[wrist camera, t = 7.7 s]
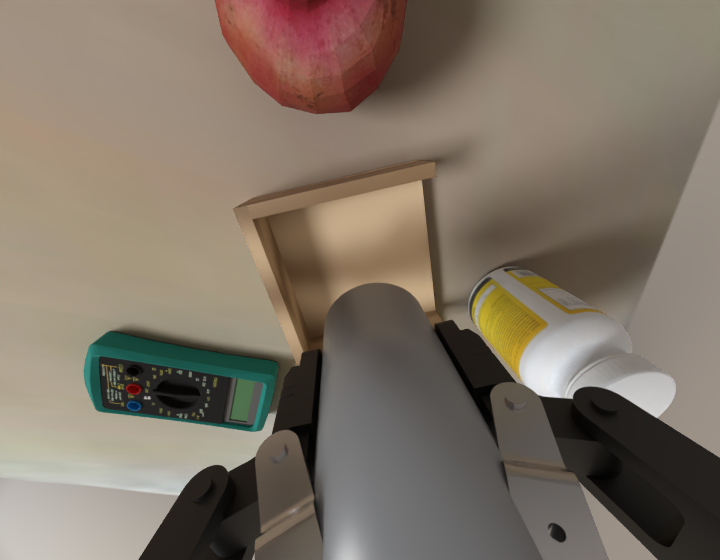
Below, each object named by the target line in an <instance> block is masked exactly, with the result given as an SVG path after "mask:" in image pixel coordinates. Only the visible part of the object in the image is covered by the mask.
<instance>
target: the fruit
mask: <svg viewBox="0 0 720 560" xmlns="http://www.w3.org/2000/svg"><path fill="white" fill-rule="evenodd" d="M215 3H216V8H217V12H218V17H219V21H220V26H221V30H222V35H223V36H224V38H225V40H226V42H227V43H228V45H229V47H230V48H231V49H232V51H233V52H234V54H235V55H236V57H237V58H238V60H239V61H240V63H241V64H242V66H243V67H244V68H245V70H246V71H247V73H248V74H249V76H250V77H251V79H252V80H253V82H254V83H255V84H257V85H258V86H259V87H260V88H261V89H263V90H264V91H265V92H266V93H267V94H269V95H270V96H271V97H272V98H273V99H275V100H276V101H277V102H278V103H279V104H281V105H282V106H286V107H290V108H294V109H298V110H302V111H306V112H310V113H314V114H324V113H338V112H350V111H352V110H353V109H354V108H355V107H356V106H358V105H359V104H360V103H361V102H362V101H363V100H365V99H366V98H367V97H368V96H369V95H370V94H372V93H373V92H374V91H375V90H376V89H377V88H378V87H379V85H380V83H381V81H382V80H383V78H384V76H385V74H386V72H387V71H388V69H389V67H390V65H391V63H392V62H393V60H394V58H395V56H396V55H397V53H398V51H399V47H400V43H401V38H402V31H403V24H404V17H405V10H406V3H407V0H215Z"/></svg>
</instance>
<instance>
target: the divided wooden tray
mask: <svg viewBox="0 0 720 560" xmlns="http://www.w3.org/2000/svg"><path fill="white" fill-rule="evenodd" d="M433 177H436V168H435V162H433V161H420V160H414V161H410V162H405V163H401V164H397V165H393V166H388V167H384V168H380V169H375V170H371V171H367V172H363V173H358V174H354V175H350V176H345V177H341V178H337V179H333V180H328V181H324V182H320V183H315V184H311V185H307V186H303V187H298V188H294V189H290V190H285V191H281V192H277V193H273V194H268V195H264V196H260V197H255V198H252V199H250V200H248V201H246V202H245V203H243V204H241V205H239V206H237V207H235V208H233V210H234V212H235V215H236V217H237V220H238V222H239V225H240V227H241V230H242V232H243V234H244V237H245V239H246V242H247V244H248V247H249V249H250V251H251V254H252V256H253V259H254V261H255V264H256V266H257V268H258V271H259V273H260V276H261V278H262V281H263V283H264V286H265V288H266V290H267V293H268V295H269V298H270V300H271V303H272V305H273V307H274V310H275V312H276V315H277V317H278V320H279V322H280V324H281V327H282V329H283V332H284V334H285V337H286V339H287V342H288V344H289V346H290V349H291V351H292V354H293V356H294V359H295V361H296V363H297V366H299V365H300V360H301V354H302V352H306V351H311V350H315V349H320V350H321V352H323V338H324V324H325V319H326V316H327V313H328V311H329V309H330V307H331V306H332V305H333V303H334V302H335V301H336V300H337V299H338V298H339V297H340V296H341V295H342V294H344V293H345V292H347V291H349V290H350V289H352V288H355V287H357V286H360V285H363V284H368V283H388V284H393V285H396V286H399V287H401V288H403V289H405V290H407V291H408V292H410V293H411V294H412V295H413V296H414V297H415V298H416V299H417V300H418V302H419V303H420V305H421V307H422V309H423V310H424V312H425V314H426V316H427V318H428V319H429V321H430V323H431V325H432V327H433V328H434V324H435V323H439V322H443V321H442V320H441V318H440V316H439V315H438V313H437V312H436V310H435V301H434V291H433V282H432V272H431V263H430V253H429V244H428V234H427V225H426V215H425V206H424V196H423V186H422V180H424V179H428V178H433Z"/></svg>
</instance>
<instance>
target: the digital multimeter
mask: <svg viewBox="0 0 720 560" xmlns="http://www.w3.org/2000/svg"><path fill="white" fill-rule="evenodd" d="M278 367H279V366H278V363H277V362H274V361H269V360H263V359H257V358H249V357H242V356H235V355H228V354H222V353H217V352H211V351H205V350H199V349H193V348H188V347H183V346H178V345H173V344H168V343H163V342H158V341H153V340H148V339H143V338H139V337H134V336H130V335H125V334H121V333H116V332H107V333H106V334H104V335H103V336H102V337H100V338H99V339H98V340H97V341H95V342H94V343H93V344H91V345H90V346H89V349H88V352H87V356H86V359H85V366H84V379H85V385H86V388H87V391H88V393H89V396H90V398H91V400H92V402H93V404H94V407H95V409H96V410H97V411H99V412H105V413H114V414H123V415H132V416H141V417H149V418H158V419H166V420H175V421H182V422H189V423H196V424H204V425H211V426H217V427H224V428H231V429H237V430H244V431H250V432H255V431H261V430H262V429H263V427H264V424H265V421H266V419H267V416H268V413H269V409H270V406H271V402H272V398H273V394H274V390H275V386H276V381H277V374H278ZM160 380H161V381H160ZM157 382H158V383H157Z"/></svg>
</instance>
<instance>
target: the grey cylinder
mask: <svg viewBox="0 0 720 560" xmlns="http://www.w3.org/2000/svg"><path fill="white" fill-rule="evenodd" d="M502 461H503V457H502V455H501V453H500V451H499V448H498V445H497V441H496V439H495V437H494V435H493V434H492V432H491V430H490V428H489V427H488V425H487V423H486V421H485V419H484V418H483V416H482V414H481V412H480V410H479V409H478V407H477V405H476V403H475V402H474V400H473V398H472V396H471V394H470V393H469V391H468V389H467V387H466V385H465V384H464V382H463V380H462V378H461V377H460V375H459V373H458V371H457V369H456V368H455V366H454V364H453V362H452V360H451V359H450V357H449V355H448V353H447V352H446V350H445V348H444V346H443V344H442V343H441V341H440V339H439V337H438V335H437V334H436V332H435V330H434V328H433V327H432V325H431V323H430V321H429V319H428V318H427V316H426V314H425V312H424V310H423V309H422V307H421V305H420V303H419V302H418V300H417V299H416V298H415V297H414V296H413V295H412V294H411V293H410V292H408V291H407V290H405V289H403V288H401V287H399V286H396V285H393V284H388V283H368V284H363V285H360V286H357V287H355V288H352V289H350V290H349V291H347V292H345V293H344V294H342V295H341V296H340V297H339V298H338V299H337V300H336V301H335V302H334V303H333V305H332V306H331V307H330V309H329V311H328V313H327V316H326V319H325V324H324V338H323V352H322V366H321V380H320V394H319V408H318V422H317V436H316V450H315V465H314V479H313V490H314V498H315V504H316V510H317V515H318V520H319V526H320V531H321V536H322V541H323V560H543V558H542V556H541V554H540V552H539V550H538V548H537V546H536V544H535V542H534V540H533V538H532V536H531V535H530V533H529V531H528V529H527V527H526V525H525V523H524V521H523V519H522V517H521V515H520V513H519V511H518V509H517V507H516V505H515V503H514V501H513V499H512V497H511V495H510V492H509V488H508V483H507V479H506V475H505V470H504V466H503V462H502Z"/></svg>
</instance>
